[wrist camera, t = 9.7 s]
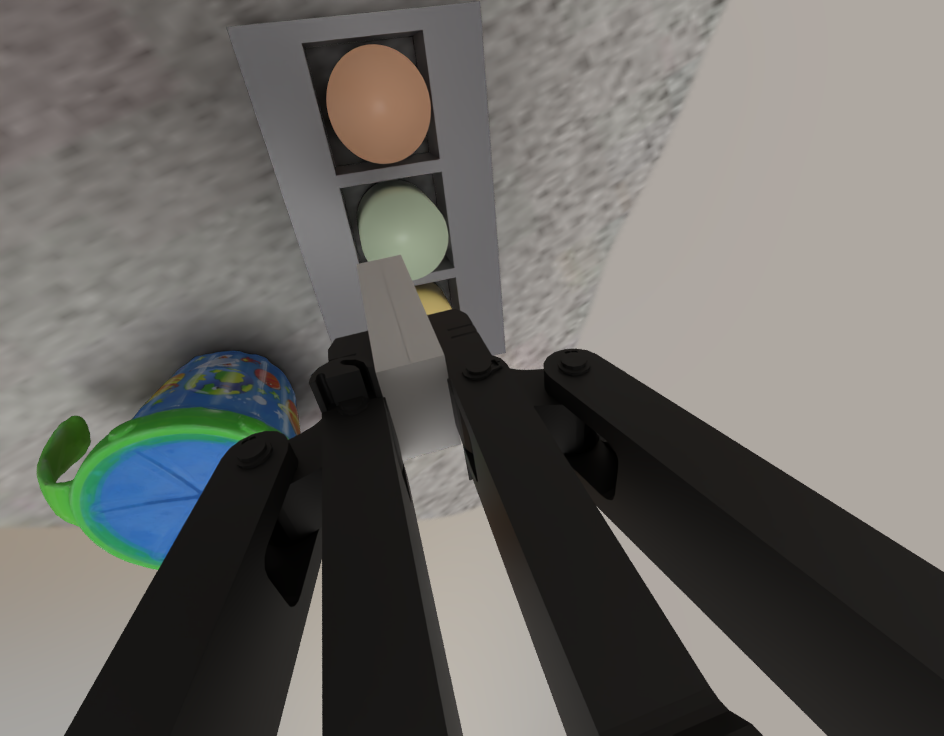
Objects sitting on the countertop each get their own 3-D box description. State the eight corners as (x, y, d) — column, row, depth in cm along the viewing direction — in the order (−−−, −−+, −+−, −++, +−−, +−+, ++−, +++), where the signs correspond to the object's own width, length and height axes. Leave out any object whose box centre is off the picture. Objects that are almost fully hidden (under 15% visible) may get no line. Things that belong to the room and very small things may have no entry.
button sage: (347, 186, 25) (350, 201, 21) (427, 173, 25) (441, 186, 22) (367, 264, 27) (372, 288, 24) (439, 250, 28) (453, 272, 25)
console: (238, 33, 21) (225, 26, 18) (463, 10, 22) (480, 1, 20) (346, 366, 31) (347, 390, 29) (492, 332, 33) (505, 352, 31)
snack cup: (104, 448, 30) (17, 587, 21) (84, 306, 25) (-38, 415, 17) (342, 455, 35) (346, 567, 27) (363, 340, 31) (375, 434, 22)
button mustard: (372, 285, 28) (378, 311, 25) (442, 271, 29) (456, 294, 25) (387, 346, 31) (394, 377, 27) (451, 332, 31) (465, 360, 28)
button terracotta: (315, 56, 21) (312, 51, 18) (408, 45, 22) (421, 38, 19) (341, 159, 24) (342, 170, 21) (423, 146, 25) (437, 156, 21)
